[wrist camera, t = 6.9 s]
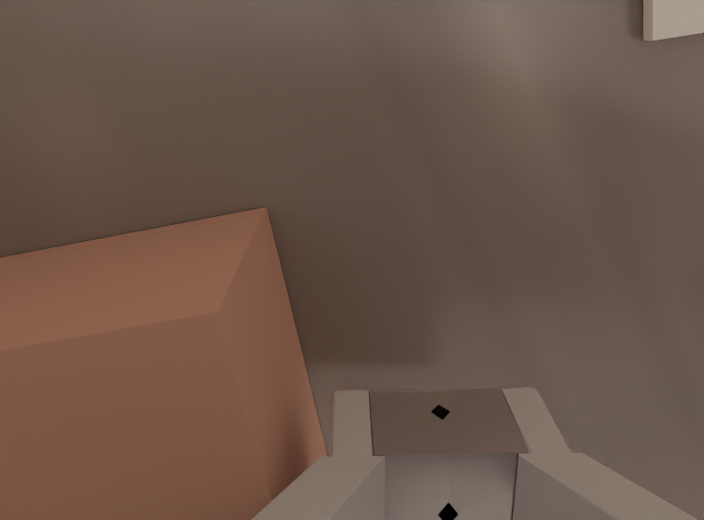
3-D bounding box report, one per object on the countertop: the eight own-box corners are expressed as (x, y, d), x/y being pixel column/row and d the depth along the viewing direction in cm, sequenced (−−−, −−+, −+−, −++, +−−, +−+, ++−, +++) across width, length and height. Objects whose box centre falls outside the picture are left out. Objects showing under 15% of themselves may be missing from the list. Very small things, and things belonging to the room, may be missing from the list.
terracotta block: (266, 207, 10) (218, 310, 6) (340, 508, 12) (337, 726, 8) (-92, 274, 10) (-342, 411, 7) (38, 557, 12) (-98, 787, 9)
